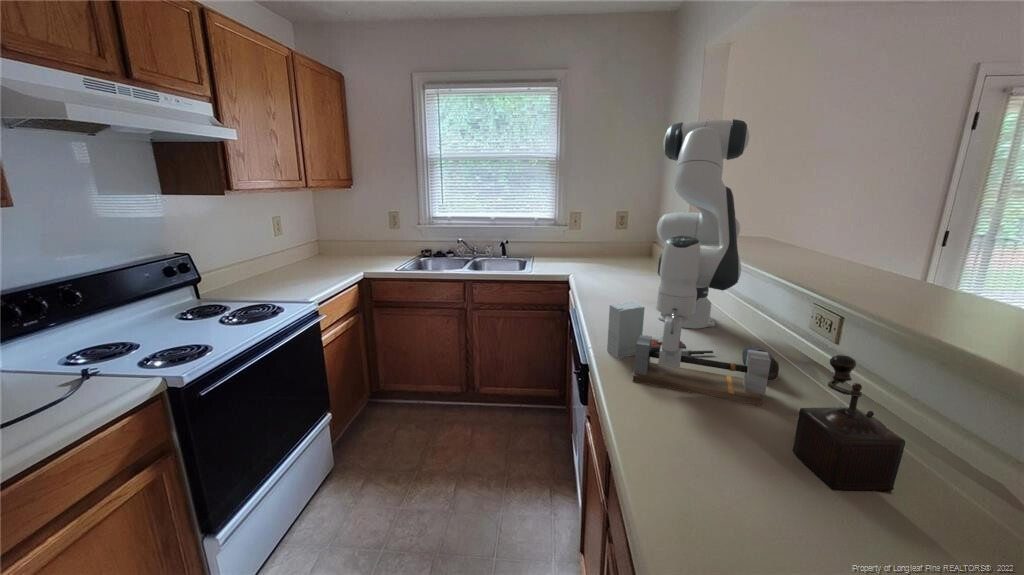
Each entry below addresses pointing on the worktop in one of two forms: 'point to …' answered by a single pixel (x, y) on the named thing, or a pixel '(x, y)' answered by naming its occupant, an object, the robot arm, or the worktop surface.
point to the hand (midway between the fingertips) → (670, 356)
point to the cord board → (705, 374)
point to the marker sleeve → (674, 364)
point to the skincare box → (624, 328)
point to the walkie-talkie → (658, 342)
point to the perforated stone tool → (773, 365)
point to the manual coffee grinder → (847, 441)
